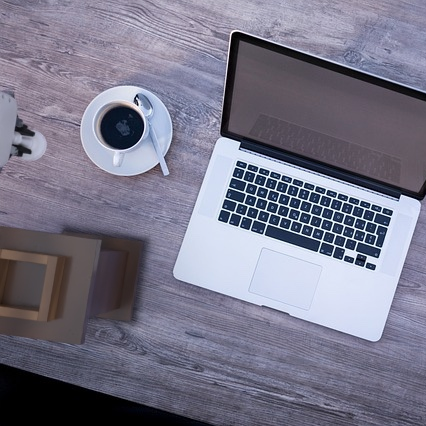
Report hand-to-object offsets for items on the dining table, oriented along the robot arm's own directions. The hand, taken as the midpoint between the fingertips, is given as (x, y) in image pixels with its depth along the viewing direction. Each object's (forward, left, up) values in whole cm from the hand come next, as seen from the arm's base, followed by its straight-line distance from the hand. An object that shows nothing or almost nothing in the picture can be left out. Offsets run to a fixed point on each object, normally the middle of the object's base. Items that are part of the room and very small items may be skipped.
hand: (23, 142), depth 89 cm
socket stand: (+10, -20, +10) cm, 24 cm away
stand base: (+10, -20, -15) cm, 27 cm away
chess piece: (0, 0, -3) cm, 3 cm away
